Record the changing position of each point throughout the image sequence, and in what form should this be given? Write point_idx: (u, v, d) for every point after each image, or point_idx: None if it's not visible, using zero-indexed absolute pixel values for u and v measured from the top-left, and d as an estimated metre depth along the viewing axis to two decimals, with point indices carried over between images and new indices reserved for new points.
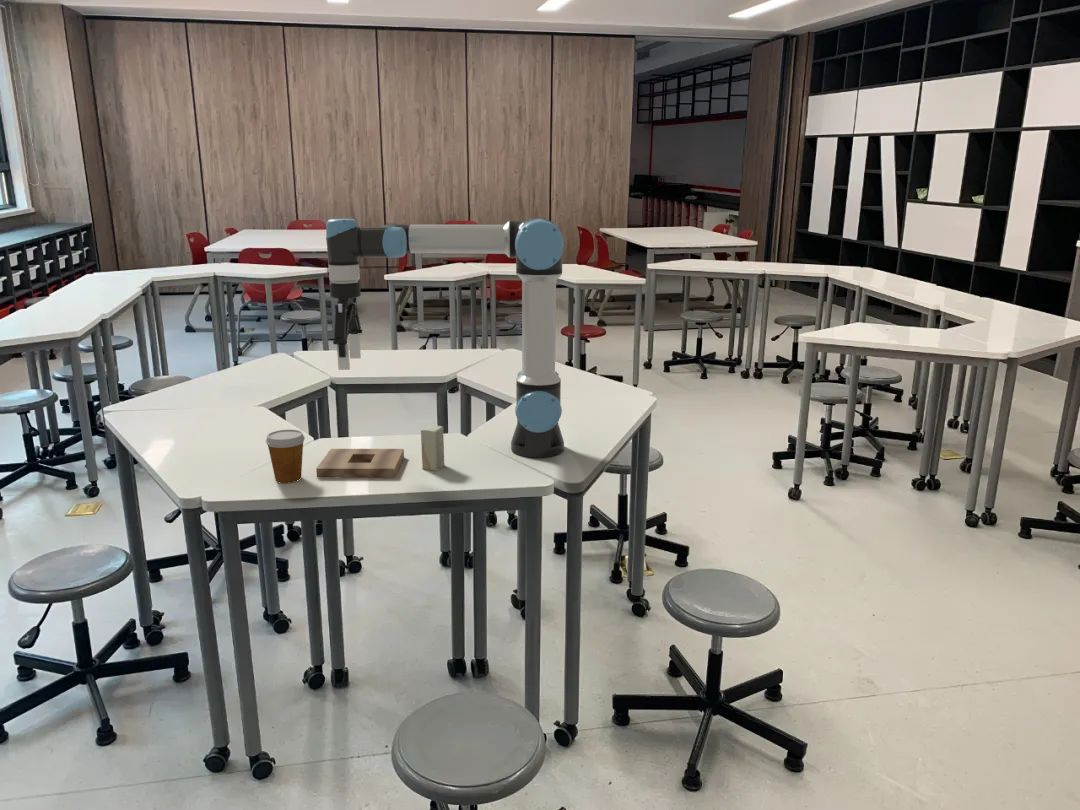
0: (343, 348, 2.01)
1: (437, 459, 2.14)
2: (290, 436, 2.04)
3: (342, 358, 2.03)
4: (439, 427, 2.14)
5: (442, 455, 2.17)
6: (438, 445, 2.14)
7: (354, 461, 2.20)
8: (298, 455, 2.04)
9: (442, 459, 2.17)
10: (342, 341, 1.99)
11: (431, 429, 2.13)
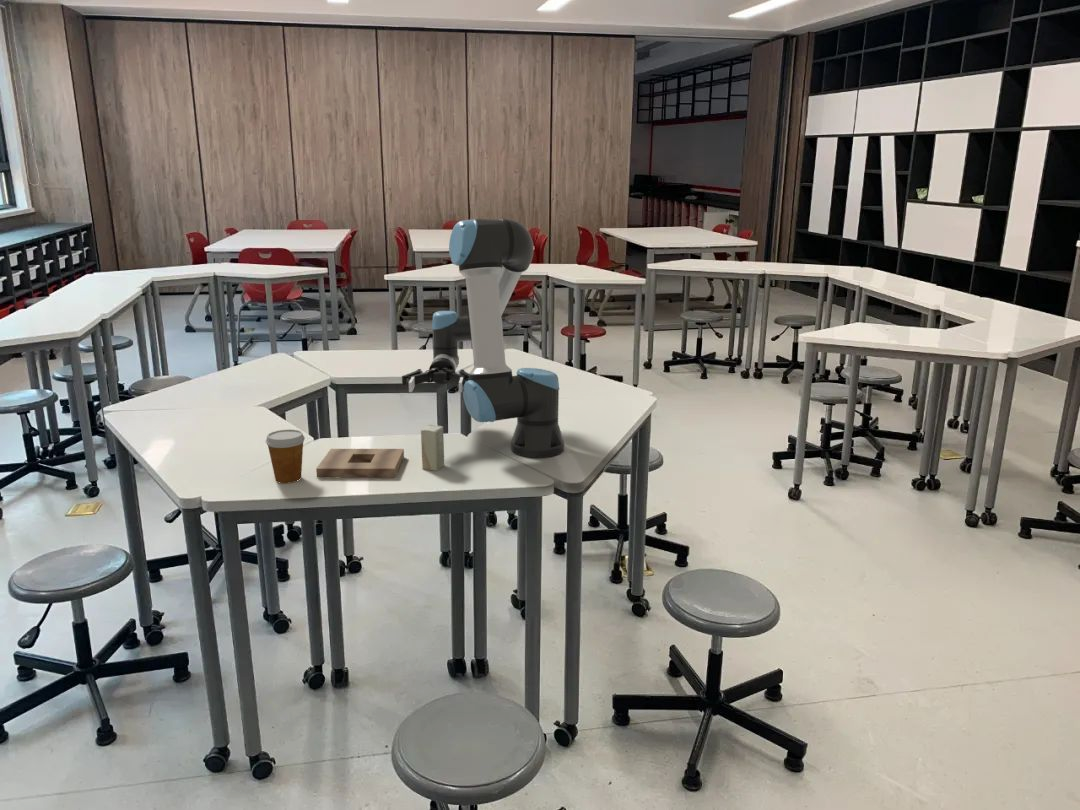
0: None
1: (437, 459, 2.14)
2: (290, 436, 2.04)
3: None
4: (439, 427, 2.14)
5: (442, 455, 2.17)
6: (438, 445, 2.14)
7: (354, 461, 2.20)
8: (298, 455, 2.04)
9: (442, 459, 2.17)
10: (402, 377, 2.28)
11: (431, 429, 2.13)
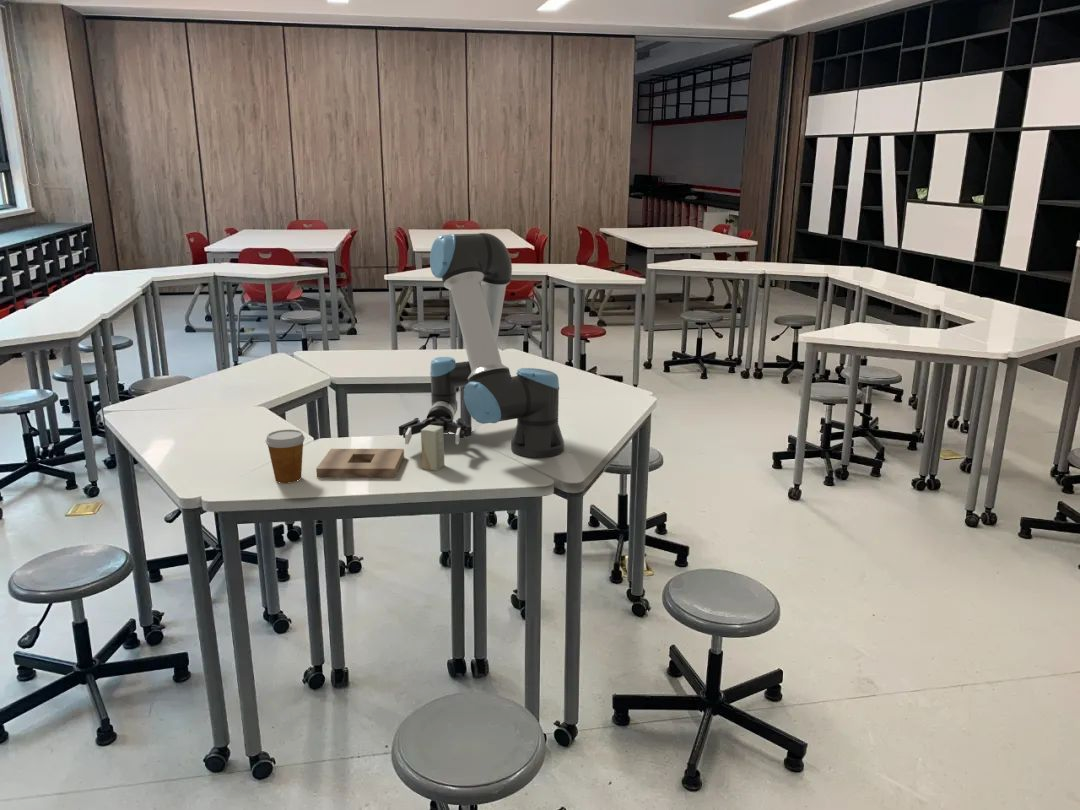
0: (404, 431, 2.25)
1: (437, 459, 2.14)
2: (290, 436, 2.04)
3: None
4: (439, 427, 2.14)
5: (442, 455, 2.17)
6: (438, 445, 2.14)
7: (354, 461, 2.20)
8: (298, 455, 2.04)
9: (442, 459, 2.17)
10: (399, 428, 2.26)
11: (431, 429, 2.13)
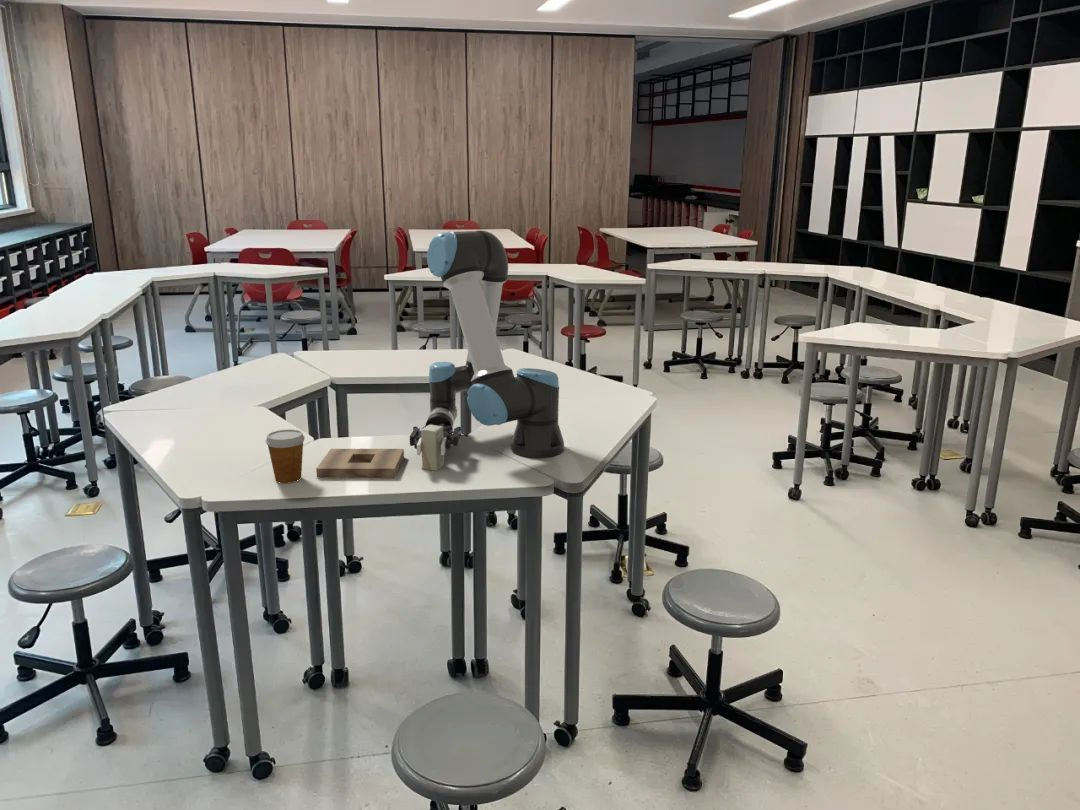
0: None
1: (437, 459, 2.14)
2: (290, 436, 2.04)
3: None
4: (439, 427, 2.14)
5: (442, 455, 2.17)
6: (438, 445, 2.14)
7: (354, 461, 2.20)
8: (298, 455, 2.04)
9: (442, 459, 2.17)
10: None
11: (431, 428, 2.13)
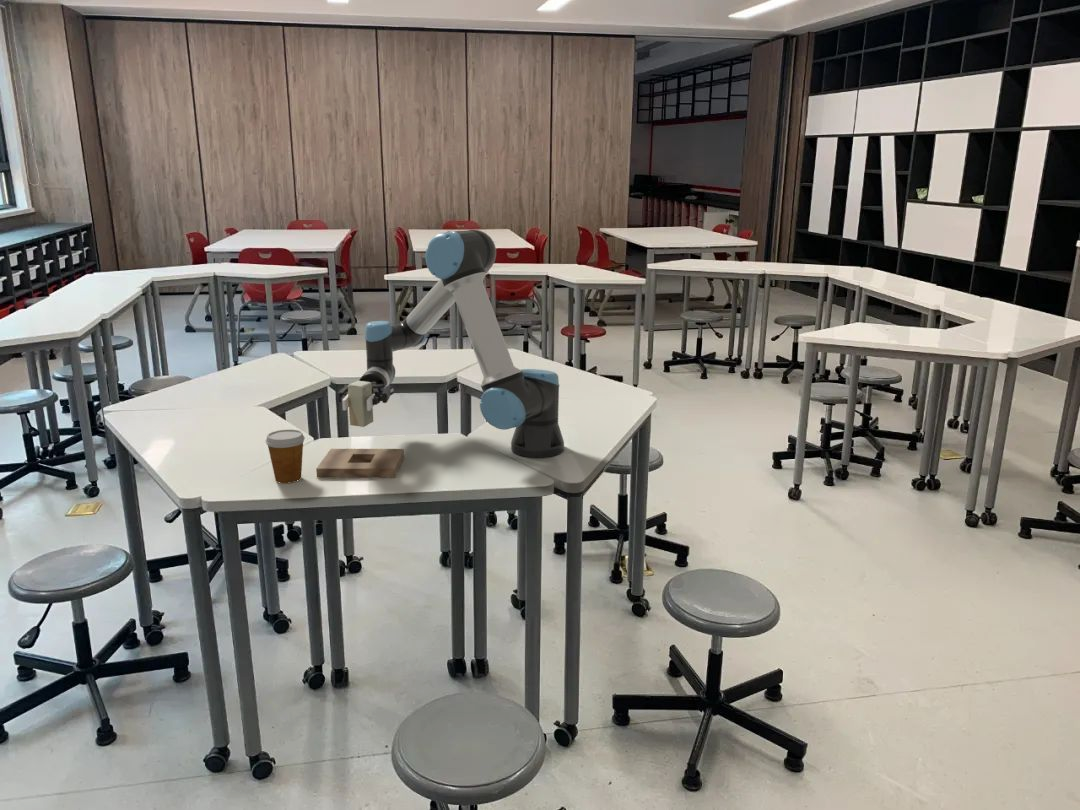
0: None
1: (364, 415, 2.11)
2: (290, 436, 2.04)
3: None
4: (367, 383, 2.12)
5: (370, 411, 2.14)
6: (365, 401, 2.11)
7: (354, 461, 2.20)
8: (298, 455, 2.04)
9: (370, 416, 2.14)
10: (338, 394, 2.15)
11: (359, 384, 2.10)
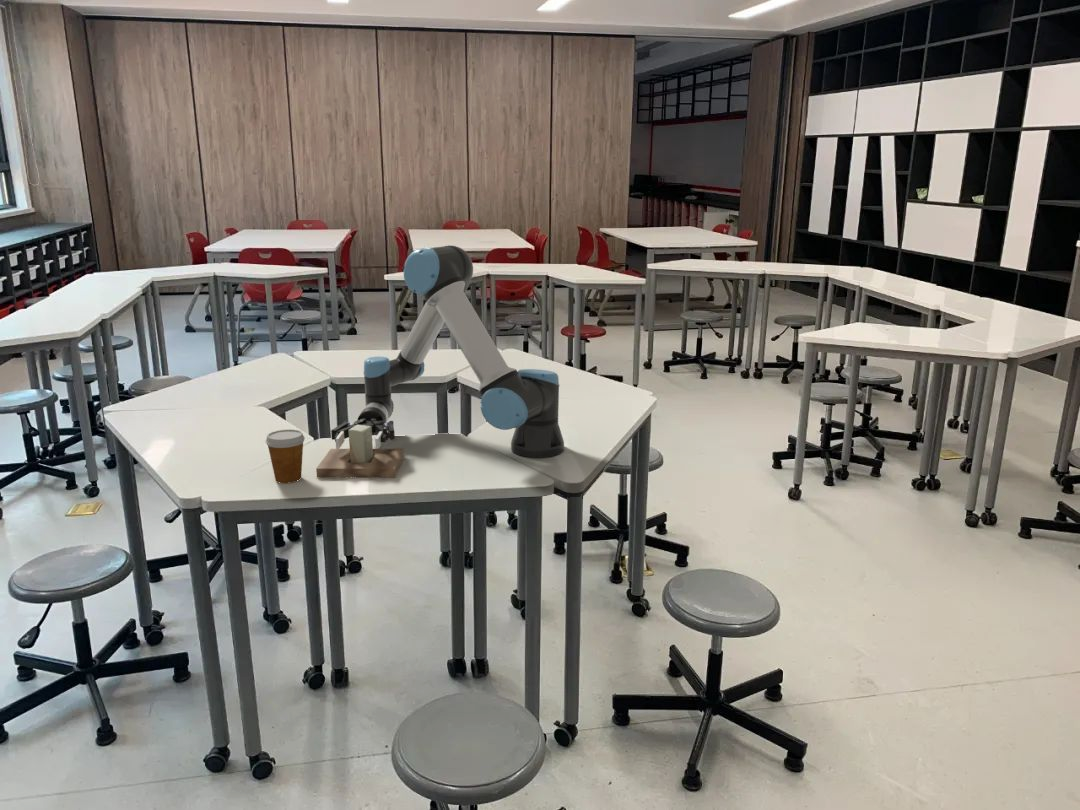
0: None
1: (365, 459, 2.14)
2: (290, 436, 2.04)
3: None
4: (367, 427, 2.14)
5: (371, 455, 2.17)
6: (366, 445, 2.13)
7: None
8: (298, 455, 2.04)
9: (371, 459, 2.17)
10: (331, 431, 2.17)
11: (359, 428, 2.13)
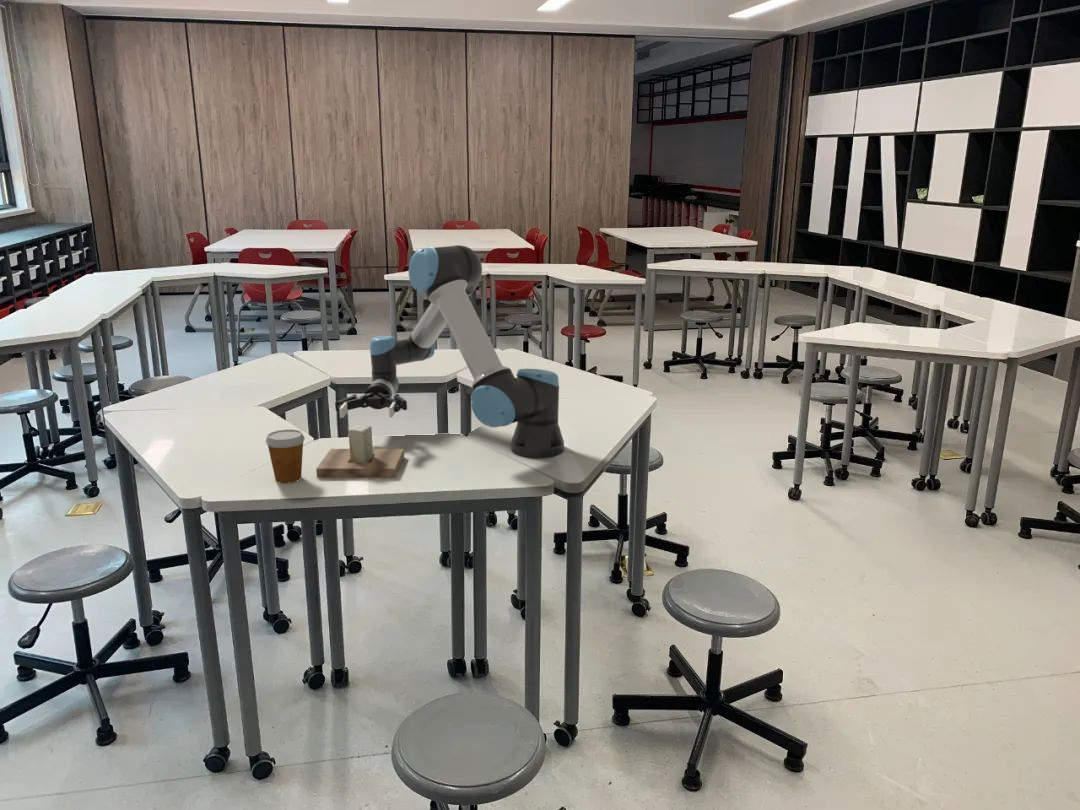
0: None
1: (365, 459, 2.14)
2: (290, 436, 2.04)
3: None
4: (367, 427, 2.14)
5: (371, 455, 2.17)
6: (366, 445, 2.13)
7: None
8: (298, 455, 2.04)
9: (371, 459, 2.17)
10: (335, 403, 2.30)
11: (359, 428, 2.13)
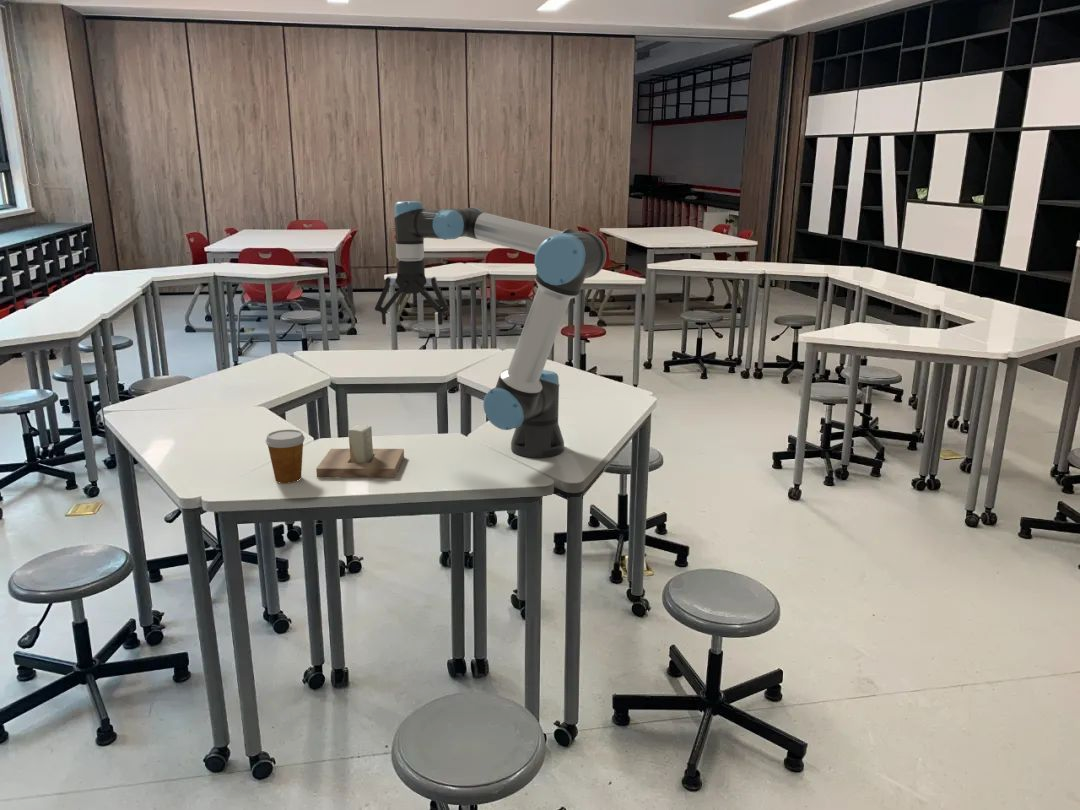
0: (382, 316, 2.26)
1: (365, 459, 2.14)
2: (290, 436, 2.04)
3: None
4: (367, 427, 2.14)
5: (371, 455, 2.17)
6: (366, 445, 2.13)
7: None
8: (298, 455, 2.04)
9: (371, 459, 2.17)
10: (375, 308, 2.25)
11: (359, 428, 2.13)
